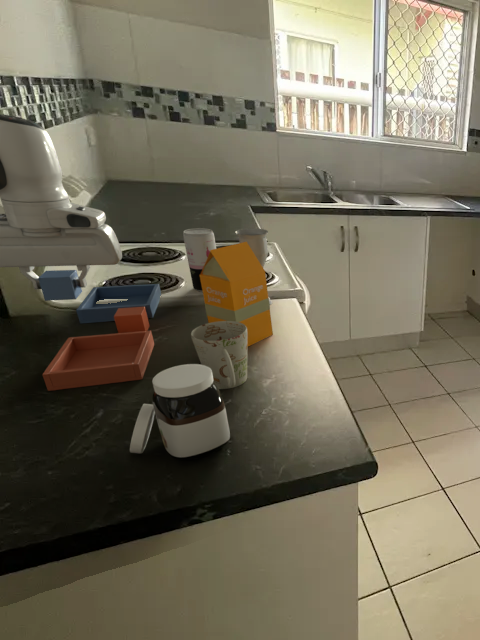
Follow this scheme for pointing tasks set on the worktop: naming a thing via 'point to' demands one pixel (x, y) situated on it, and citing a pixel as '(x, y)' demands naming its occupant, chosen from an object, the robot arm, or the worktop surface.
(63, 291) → the blue block
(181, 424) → the spread jar
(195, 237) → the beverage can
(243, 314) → the orange juice
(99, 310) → the blue tray
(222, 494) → the worktop surface
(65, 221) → the robot arm
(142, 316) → the rust block
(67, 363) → the rust tray
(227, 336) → the mug
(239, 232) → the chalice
